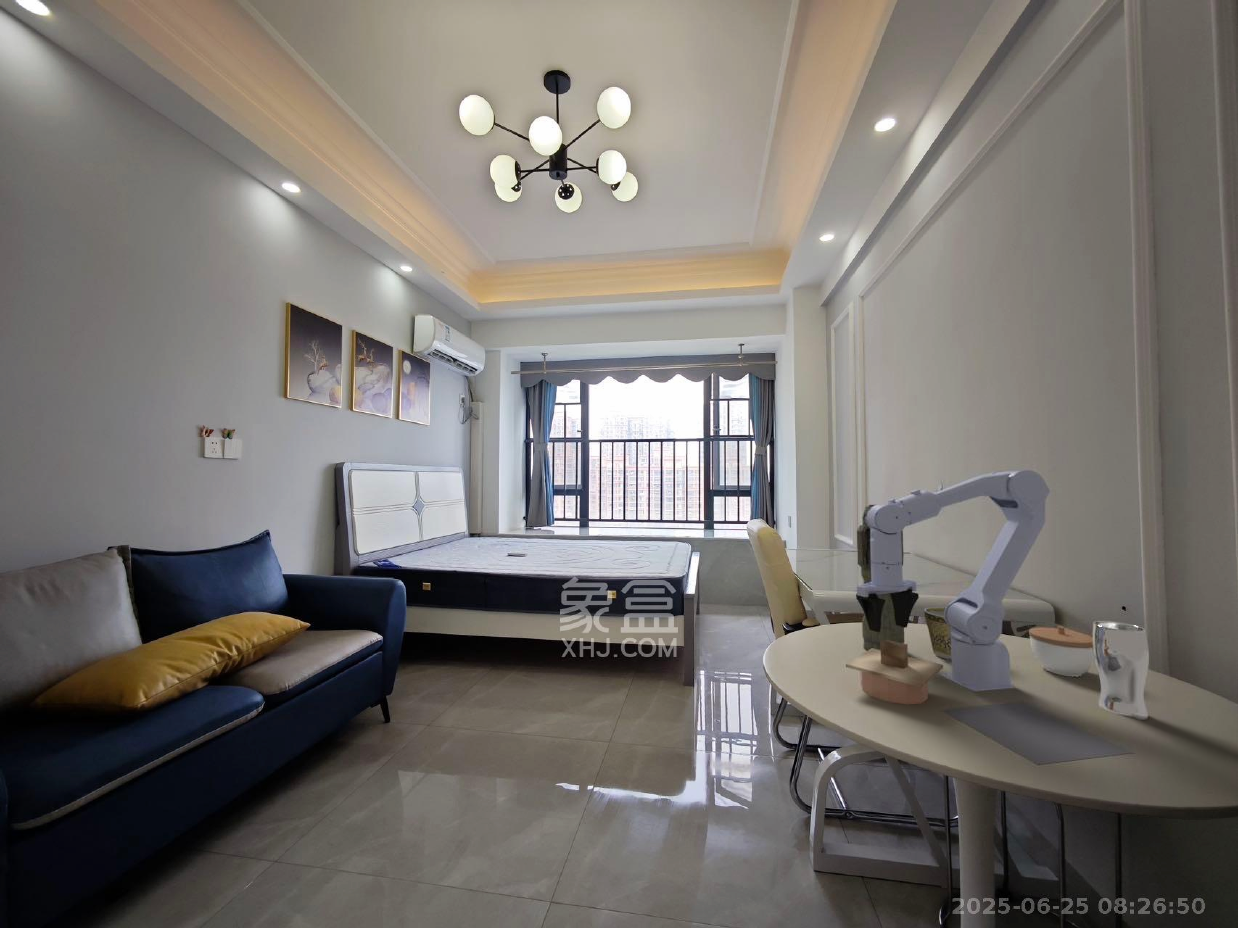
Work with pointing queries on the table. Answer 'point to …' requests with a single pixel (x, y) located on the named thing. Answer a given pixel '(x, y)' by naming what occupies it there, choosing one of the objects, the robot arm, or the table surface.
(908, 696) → the bowl
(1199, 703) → the table surface
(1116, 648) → the silver metal tumbler
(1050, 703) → the table surface
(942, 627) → the ceramic cup
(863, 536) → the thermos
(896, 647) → the lid
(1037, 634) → the lidded jar
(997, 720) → the mat
